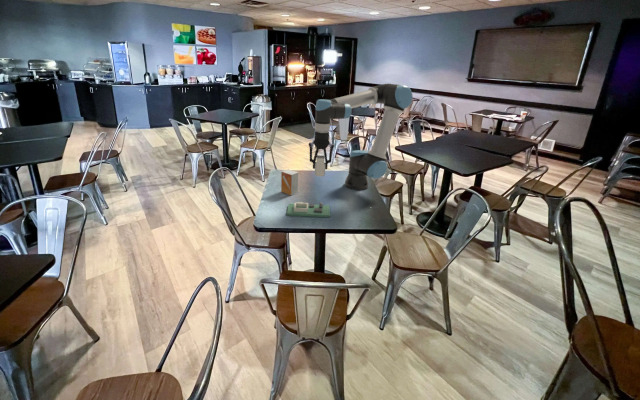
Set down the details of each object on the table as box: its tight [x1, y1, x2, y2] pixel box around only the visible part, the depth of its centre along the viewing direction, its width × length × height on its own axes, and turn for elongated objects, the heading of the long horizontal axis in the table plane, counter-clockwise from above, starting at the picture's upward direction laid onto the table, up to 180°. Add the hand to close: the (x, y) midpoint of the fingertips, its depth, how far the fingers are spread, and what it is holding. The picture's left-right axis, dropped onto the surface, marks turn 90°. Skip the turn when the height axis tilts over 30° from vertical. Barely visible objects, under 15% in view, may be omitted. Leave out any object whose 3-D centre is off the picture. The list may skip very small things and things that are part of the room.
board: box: [286, 201, 331, 218], centre depth 168 cm, size 22×12×4 cm, turn 91°
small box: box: [280, 168, 299, 196], centre depth 189 cm, size 8×6×13 cm
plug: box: [315, 154, 325, 177], centre depth 171 cm, size 4×4×10 cm
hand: (319, 174), depth 173 cm, fingers closed on plug, 4 cm apart
